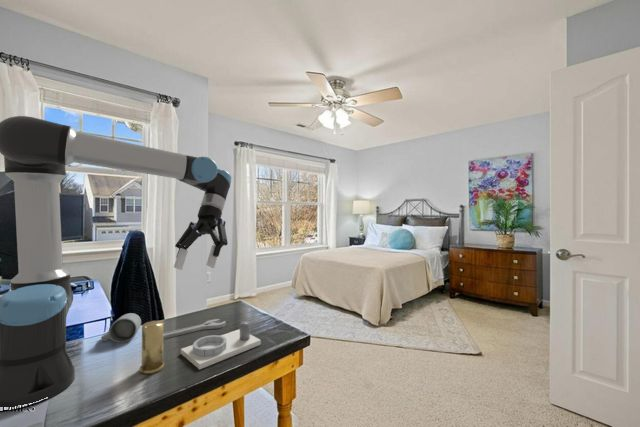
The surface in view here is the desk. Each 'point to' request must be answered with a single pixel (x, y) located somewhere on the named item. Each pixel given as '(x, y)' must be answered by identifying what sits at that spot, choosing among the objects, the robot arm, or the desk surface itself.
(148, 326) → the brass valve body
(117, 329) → the ceramic mug
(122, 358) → the desk surface
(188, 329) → the adjustable wrench
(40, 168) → the robot arm
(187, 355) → the board
